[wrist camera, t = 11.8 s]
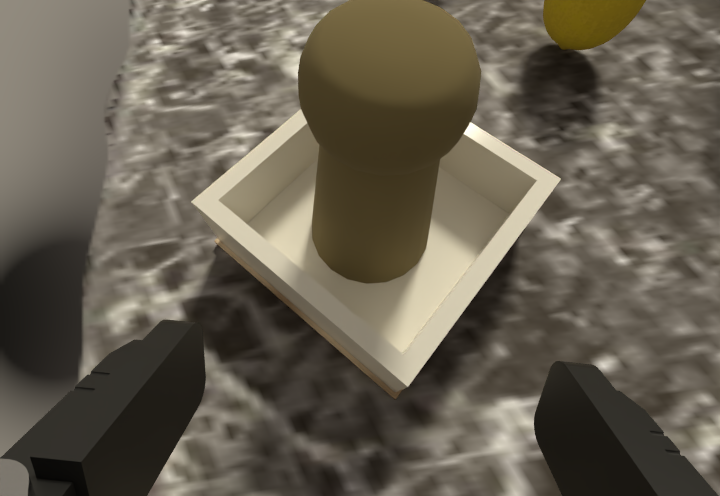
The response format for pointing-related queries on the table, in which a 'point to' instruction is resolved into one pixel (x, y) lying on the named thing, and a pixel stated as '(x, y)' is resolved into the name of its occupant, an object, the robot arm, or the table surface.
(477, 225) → the square tray
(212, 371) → the table surface
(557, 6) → the lemon
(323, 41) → the pepper shaker
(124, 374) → the robot arm
